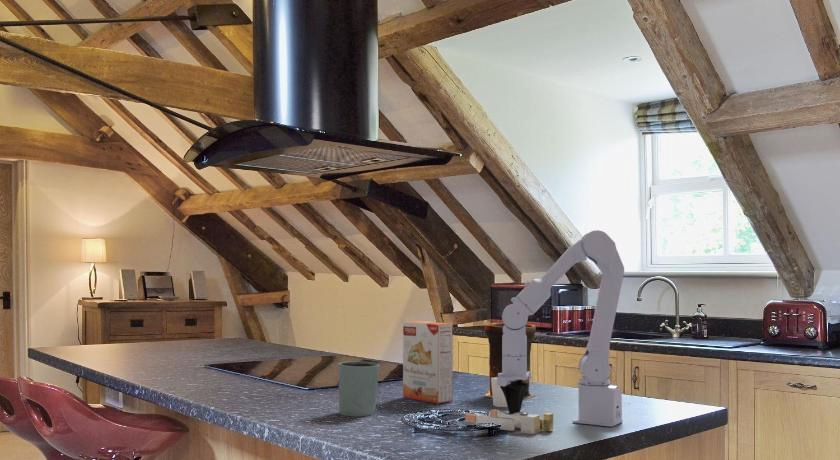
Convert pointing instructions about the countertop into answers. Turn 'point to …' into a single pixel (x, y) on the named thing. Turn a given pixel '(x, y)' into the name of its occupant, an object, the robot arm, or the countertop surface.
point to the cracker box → (428, 361)
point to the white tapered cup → (498, 394)
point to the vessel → (495, 349)
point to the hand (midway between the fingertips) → (514, 414)
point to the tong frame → (509, 421)
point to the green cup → (358, 388)
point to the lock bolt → (546, 422)
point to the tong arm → (505, 415)
